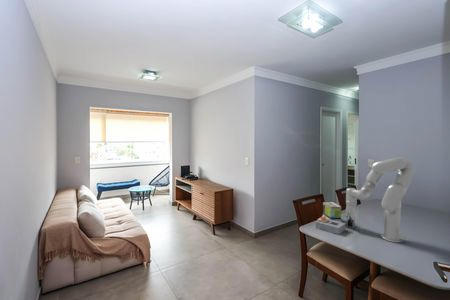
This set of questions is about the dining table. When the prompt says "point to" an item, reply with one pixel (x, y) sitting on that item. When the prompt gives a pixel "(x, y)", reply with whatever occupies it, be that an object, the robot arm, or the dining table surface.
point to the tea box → (332, 211)
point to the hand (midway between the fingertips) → (350, 225)
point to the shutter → (323, 219)
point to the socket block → (331, 226)
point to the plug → (352, 223)
